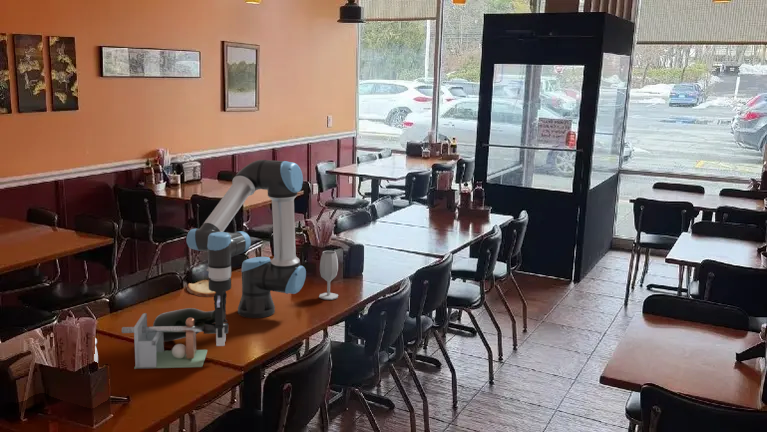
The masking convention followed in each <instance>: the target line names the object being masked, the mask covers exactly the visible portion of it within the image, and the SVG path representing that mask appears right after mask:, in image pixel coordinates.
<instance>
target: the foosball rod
mask: <svg viewBox="0 0 767 432" xmlns="http://www.w3.org/2000/svg"><path fill="white" fill-rule="evenodd" d="M186 325H187V326H158V327H153V326H147V327H142V333H154V332H186V337H185V346H186V359H187V358H194V356H195V353H196V350H197V334H196V332H199V333H203V335H206V334H207V335H211V334H212V335H213V334H215V335H216V328H214V326H215V323H204V326H194V325H195V319H194V318H191V317H190V318H188V319H187V320H186ZM134 327H135V326H122V327H121V334H132V333H133V334H134ZM224 333H226V334H229V323H228V322H224Z"/></svg>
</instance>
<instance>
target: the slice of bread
mask: <svg viewBox="0 0 767 432" xmlns="http://www.w3.org/2000/svg"><path fill="white" fill-rule="evenodd" d="M208 280H209V279H208ZM208 280H207V279H203V280H199V281H197V282H195V283H192V282H191V283H190V282H189V283H188V284H187V287H186V290H187V292H188V293H190V294H192V295H194V296H199V297H203V298H214V296H215V293H216V292H214V291H211V290H209V281H208Z"/></svg>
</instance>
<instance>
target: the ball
mask: <svg viewBox="0 0 767 432" xmlns="http://www.w3.org/2000/svg"><path fill="white" fill-rule="evenodd" d="M171 350H172V354H173V356H174V357H175V358H178V359H180V358H183V357H184V356H185V355H186V344H182V343H177V344H175V345H174V346H173V347H172V348H171Z"/></svg>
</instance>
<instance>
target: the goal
mask: <svg viewBox="0 0 767 432" xmlns="http://www.w3.org/2000/svg"><path fill="white" fill-rule="evenodd" d="M147 315H148V313H146V312H145V313H142V314H141V316H140V317H139V319H138V320H137V322H136V323H135V325H134V326H133V327H134V333H133V336H134V338H133V339H134V341H133V342H134V362H135V364H134V365H136V367H137V368H140V367H143V368H140V369H149V368H148V367H151V368H150V369H155V368H154V367H156V366H157V356H156V352H164V351H165V341H164V337H163V332H154V333H142V327H148V316H147ZM146 367H147V368H146Z"/></svg>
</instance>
